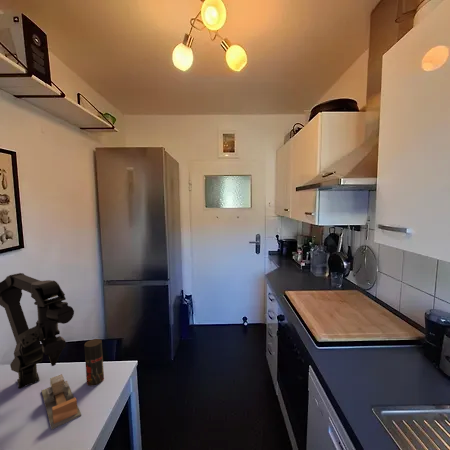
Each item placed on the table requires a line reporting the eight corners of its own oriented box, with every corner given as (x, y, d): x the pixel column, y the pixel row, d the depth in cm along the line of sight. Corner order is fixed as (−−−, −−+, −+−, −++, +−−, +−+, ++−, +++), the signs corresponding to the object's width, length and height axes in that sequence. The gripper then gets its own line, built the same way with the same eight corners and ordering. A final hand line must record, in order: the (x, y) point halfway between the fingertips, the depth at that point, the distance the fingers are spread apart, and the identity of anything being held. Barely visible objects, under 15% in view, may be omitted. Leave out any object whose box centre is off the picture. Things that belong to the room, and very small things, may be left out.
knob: (47, 396, 93) (46, 379, 93) (67, 388, 97) (65, 372, 97) (49, 403, 90) (47, 385, 90) (69, 394, 94) (68, 377, 94)
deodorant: (105, 381, 102) (103, 343, 101) (87, 388, 99) (85, 348, 98) (102, 373, 107) (100, 337, 106) (85, 379, 104) (83, 342, 103)
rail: (41, 392, 97) (40, 378, 97) (66, 382, 103) (66, 369, 102) (51, 429, 81) (50, 413, 80) (81, 415, 86) (80, 400, 85)
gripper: (15, 316, 96) (18, 358, 98) (23, 334, 83) (27, 383, 84) (51, 307, 104) (54, 346, 105) (64, 323, 91) (67, 367, 92)
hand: (50, 360), depth 96 cm, fingers open, 9 cm apart
